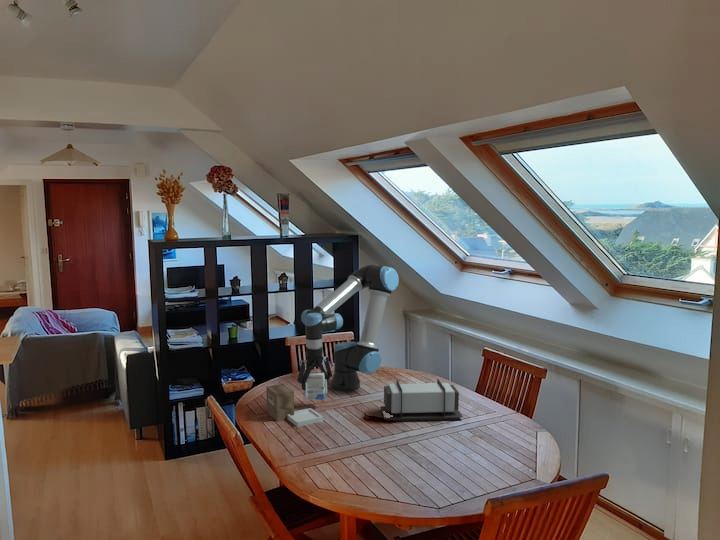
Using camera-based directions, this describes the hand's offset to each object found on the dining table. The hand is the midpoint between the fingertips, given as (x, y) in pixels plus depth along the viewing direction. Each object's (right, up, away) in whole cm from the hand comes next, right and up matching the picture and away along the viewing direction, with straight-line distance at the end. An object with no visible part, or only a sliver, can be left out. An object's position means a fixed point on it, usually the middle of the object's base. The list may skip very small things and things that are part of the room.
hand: (315, 394), depth 259 cm
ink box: (0, -2, 0) cm, 2 cm away
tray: (-4, -8, -13) cm, 16 cm away
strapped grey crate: (+48, -8, -8) cm, 49 cm away
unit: (-15, -7, -8) cm, 19 cm away
